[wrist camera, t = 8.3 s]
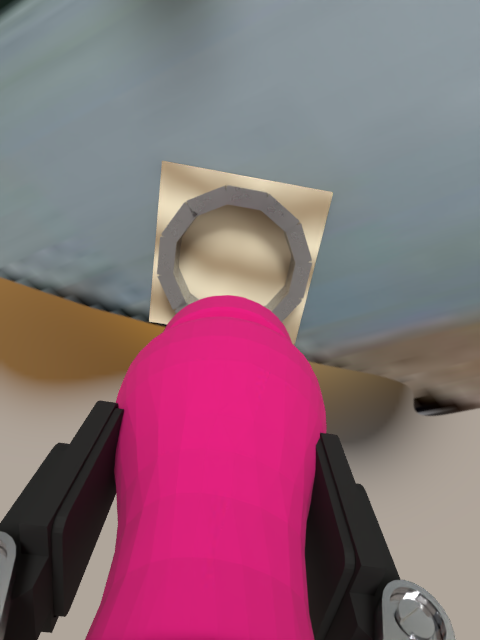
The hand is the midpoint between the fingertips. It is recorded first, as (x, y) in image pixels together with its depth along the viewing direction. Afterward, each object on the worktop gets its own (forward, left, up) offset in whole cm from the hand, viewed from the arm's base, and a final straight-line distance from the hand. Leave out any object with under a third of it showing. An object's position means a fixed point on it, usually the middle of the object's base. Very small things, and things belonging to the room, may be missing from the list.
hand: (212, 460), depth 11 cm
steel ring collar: (0, 0, -27) cm, 27 cm away
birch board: (0, 0, -28) cm, 28 cm away
